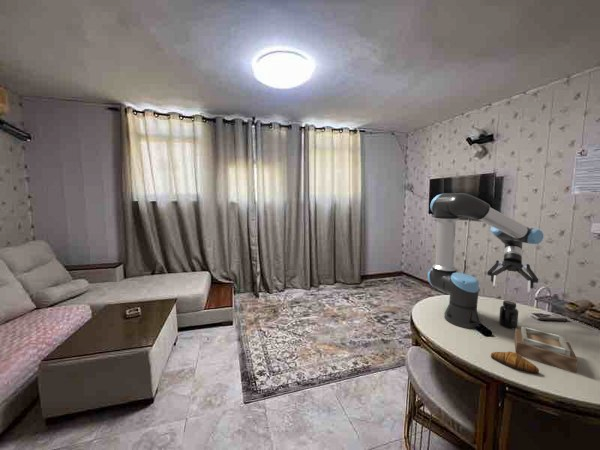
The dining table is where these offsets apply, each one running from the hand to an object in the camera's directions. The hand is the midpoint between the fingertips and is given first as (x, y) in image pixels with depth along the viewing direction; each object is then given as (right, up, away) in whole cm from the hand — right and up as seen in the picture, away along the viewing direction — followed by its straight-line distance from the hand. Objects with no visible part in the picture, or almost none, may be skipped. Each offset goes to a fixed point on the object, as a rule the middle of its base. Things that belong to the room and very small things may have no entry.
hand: (510, 290), depth 124 cm
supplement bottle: (-7, -16, -6) cm, 19 cm away
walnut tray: (-12, -18, -28) cm, 35 cm away
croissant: (-29, -19, -34) cm, 49 cm away
